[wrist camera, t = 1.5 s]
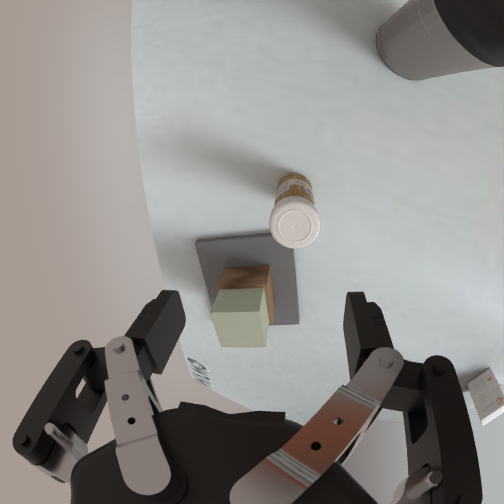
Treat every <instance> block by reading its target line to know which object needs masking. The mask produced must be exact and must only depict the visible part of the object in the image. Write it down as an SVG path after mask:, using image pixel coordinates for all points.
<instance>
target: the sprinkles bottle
mask: <svg viewBox="0 0 504 504" xmlns="http://www.w3.org/2000/svg"><path fill="white" fill-rule="evenodd" d="M314 205H315V203H314V198H313V193H312V187H311V183H310V182H309V180H308V179H307V178H306V177H304V176H303V175H300V174H289V175H287V176H285V177H283V179H282V180H281V181H280V183H279V185H278V191H277V196H276V200H275V205H274V208H273V210H272V212H271V216H270V223H269V226H270V231H271V234H272V236H273V237H274V239H275V240H276V241H277V242H278V243H280V244H281V245H283V246H285V247H288V248H302V247H305V246H307V245H309V244H310V243H312V242H313V241H314V240H315V238H316V237H317V235H318V233H319V230H320V218H319V214H318V211H317V209H316V207H315V206H314Z"/></svg>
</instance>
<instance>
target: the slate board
mask: <svg viewBox="0 0 504 504" xmlns="http://www.w3.org/2000/svg"><path fill="white" fill-rule="evenodd" d="M195 244H196V248H197V252H198V256H199V260H200V264H201V268H202V271H203V275H204V279H205V282H206V286H207V290H208V293H209V297H210V300H211V304H212V307H213V305H214V302H215V300H216V297H217V295H218V294H217V291H216V284H217V282H218V280H219V278H220V275H221V273H222V271H223V269H224V268H234V267H250V266H265V265H270V267H271V274H272V281H273V289H274V296H275V312H274V321H273V325H291V324H299V308H298V295H297V283H296V271H295V260H294V250H293V248H288V247H285V246H283V245H281V244H280V243H278V242H277V241H276V240H275V239H274V237H273V236H272V234H271V233H270V234H258V235H247V236H235V237H224V238H214V239H203V240H197V241H196V242H195Z"/></svg>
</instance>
